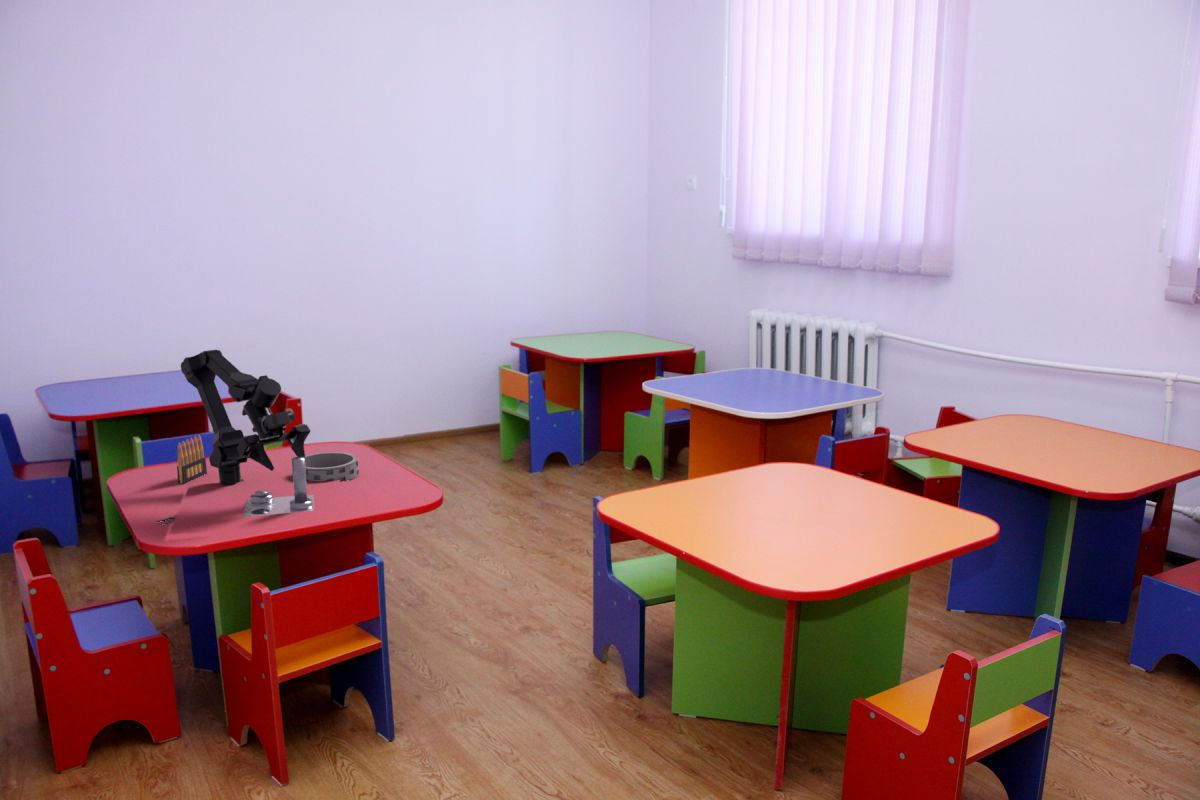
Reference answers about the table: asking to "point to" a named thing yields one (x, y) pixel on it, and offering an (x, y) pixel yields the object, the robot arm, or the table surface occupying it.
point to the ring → (331, 466)
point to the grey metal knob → (261, 497)
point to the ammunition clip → (191, 460)
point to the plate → (273, 507)
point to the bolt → (300, 485)
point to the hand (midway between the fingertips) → (288, 465)
